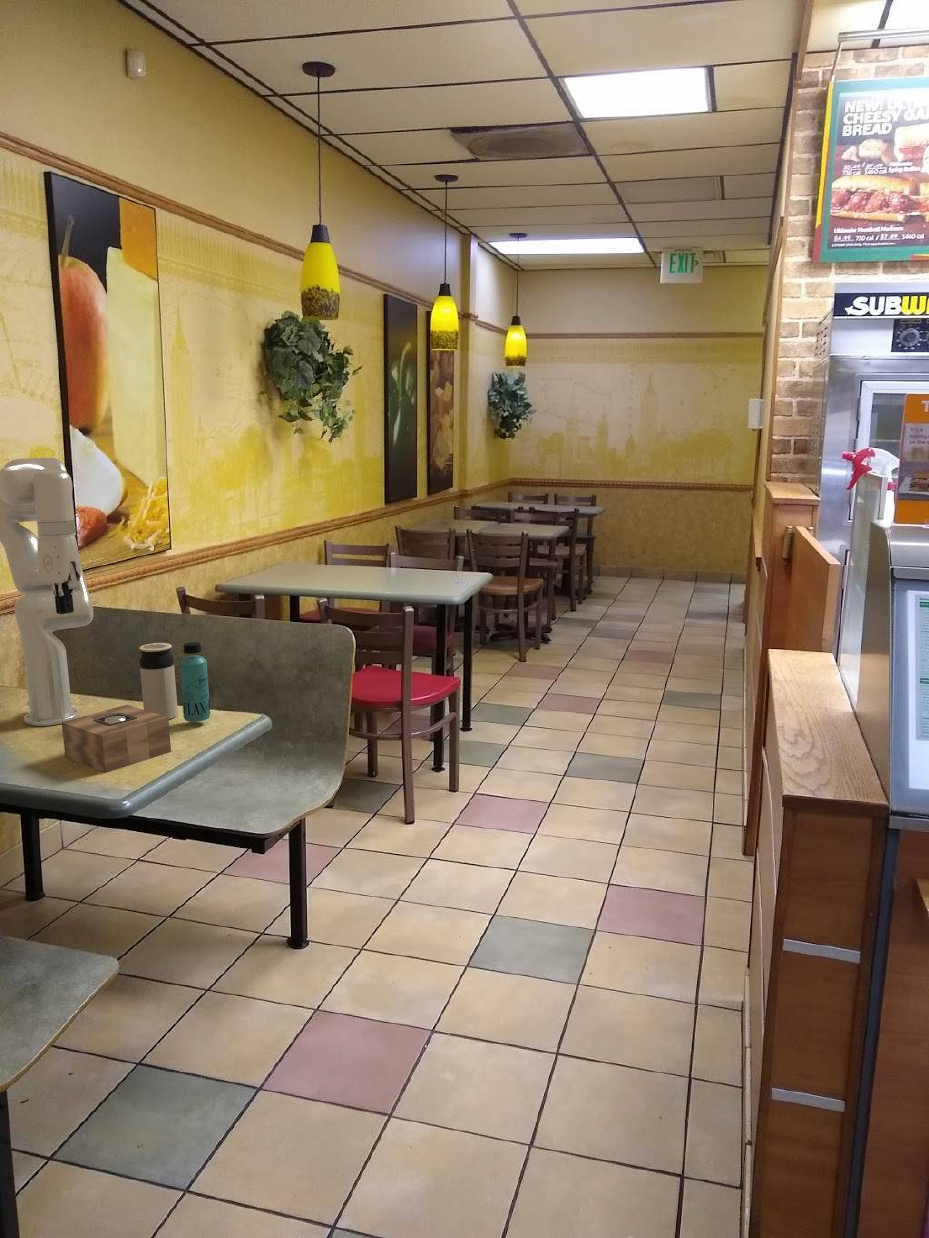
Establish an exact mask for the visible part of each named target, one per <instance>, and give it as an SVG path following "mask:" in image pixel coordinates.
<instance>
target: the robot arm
mask: <svg viewBox="0 0 929 1238" xmlns="http://www.w3.org/2000/svg"><path fill="white" fill-rule="evenodd" d="M74 511H75V510H74V500H73V481H72V477H71V475H70V474H69V473H68V471H67V468H66V466H65V464H64V463H63V462H62V461H61V460H60V459H58V458H56V457H32V458H31V457H30V458H29V457H28V458H16V459H12V460H10V461H8V462H6V464H4V466H3V467H1V468H0V543H1V545H2V547H3V549H4V552H5V555H6V558H7V562H8V567H9V572H10V573H11V574H10V575H11V578H12V582H13V584H14V586H15V589H16V590H17V591H18V592H20V593H21V594H23V595H22V596H21V597H19V598H17V600H16V602H15V604H14V616H15V620H16V623H17V626H18V630H19V634H20V639H21V644H22V651H23V660H24V661H23V662H24V669H25V677H26V678H25V680H26V685H27V686H26V687H27V696H28V697H27V698H28V700H27V702H26V705H27V707H29V712H28V713H26V714H25V715H24V717H23V722H24V724H26V725H29V726H34V727H35V726H36V727H41V726H43V727H45V726H55V725H62V722H64V721H68V720H72V719H76V718H79V716H80V711H79V709H77V708H75V707H72V706H73V705H72V699H71V697H72V696H71V688H70V687H71V686H70V678H69V677H70V676H69V670H68V658H67V650H66V646H65V645H64V643H63V641H61V640H60V639H59V638H58V637H56V635H54V634H53V632H55V631H59V630H66V629H74V628H80V627H81V628H82V627H86V626H88V625H90V624H91V622H92V621H93V618H94V606H93V603H92V598H91V595H90V593H89V589H88V585H87V582H86V578H85V575H84V574H85V573H84V570H83V568H82V565H81V559H80V558H81V557H80V553H79V549H78V548H79V547H78V544H77V537H76V535H77V532H76V531H77V530H76V521H75V512H74ZM27 522H28V523H29V522H36V525H37V534H35V533H34V532H32V531H31V530H30V529H29V528H28V527H26V526H24V525H22V524H21V523H27ZM37 535H38V536H37Z"/></svg>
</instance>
